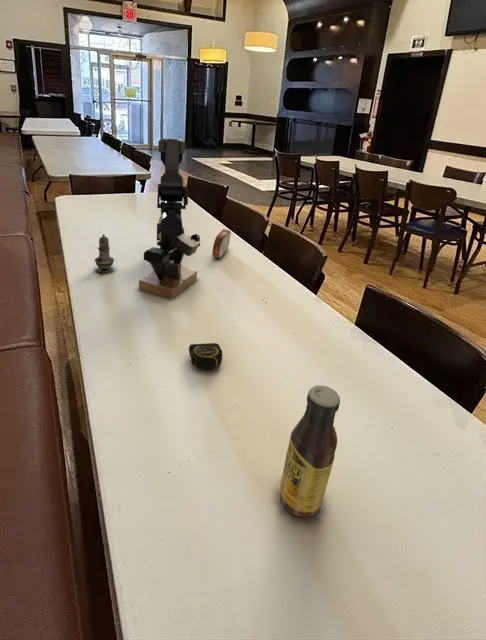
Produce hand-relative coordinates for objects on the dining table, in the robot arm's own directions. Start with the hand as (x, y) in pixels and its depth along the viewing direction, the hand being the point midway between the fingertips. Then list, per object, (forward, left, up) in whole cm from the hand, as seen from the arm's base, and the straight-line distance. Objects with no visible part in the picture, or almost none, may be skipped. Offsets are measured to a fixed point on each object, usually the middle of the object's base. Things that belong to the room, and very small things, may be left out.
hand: (169, 274), depth 122 cm
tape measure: (+29, +26, -3) cm, 39 cm away
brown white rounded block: (-32, +3, -3) cm, 32 cm away
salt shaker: (+2, -22, -3) cm, 22 cm away
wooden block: (0, 0, -3) cm, 3 cm away
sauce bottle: (+52, +53, -3) cm, 74 cm away
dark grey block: (0, 0, 0) cm, 0 cm away
